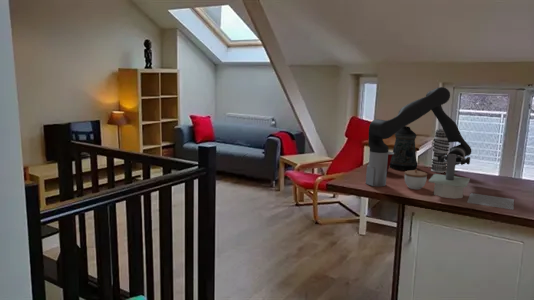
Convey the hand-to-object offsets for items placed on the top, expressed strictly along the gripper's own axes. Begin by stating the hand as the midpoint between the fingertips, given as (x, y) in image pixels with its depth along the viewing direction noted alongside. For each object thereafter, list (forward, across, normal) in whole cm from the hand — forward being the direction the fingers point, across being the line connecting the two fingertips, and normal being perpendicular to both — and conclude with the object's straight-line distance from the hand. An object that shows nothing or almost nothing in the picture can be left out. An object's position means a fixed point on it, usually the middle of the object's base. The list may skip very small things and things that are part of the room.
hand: (452, 161), depth 200 cm
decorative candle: (-51, -12, +16) cm, 55 cm away
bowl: (+2, 0, +16) cm, 16 cm away
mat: (+2, +18, +16) cm, 24 cm away
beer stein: (-48, -33, +16) cm, 61 cm away
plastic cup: (-30, -40, +16) cm, 52 cm away
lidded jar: (-3, -16, +16) cm, 23 cm away
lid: (+2, 0, +9) cm, 9 cm away
